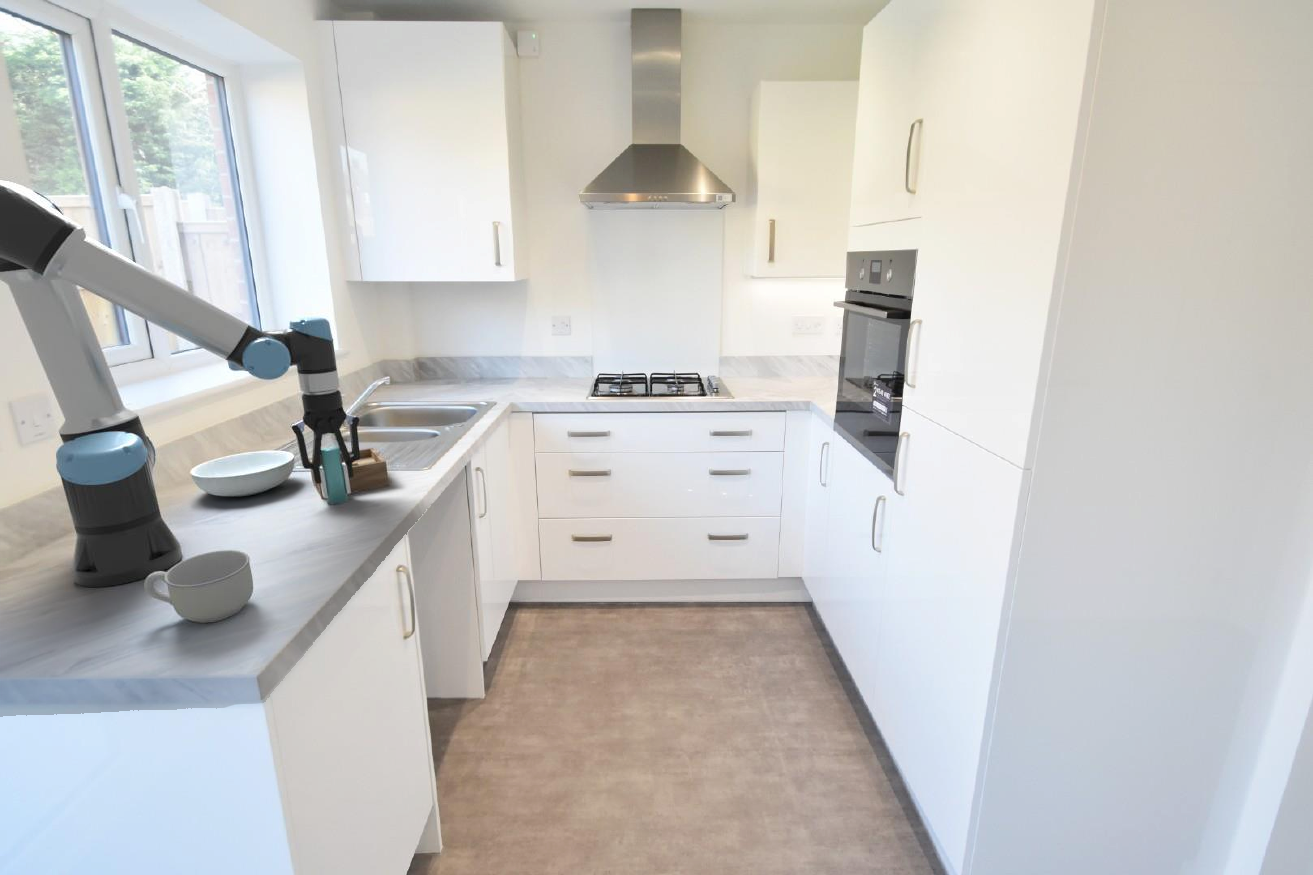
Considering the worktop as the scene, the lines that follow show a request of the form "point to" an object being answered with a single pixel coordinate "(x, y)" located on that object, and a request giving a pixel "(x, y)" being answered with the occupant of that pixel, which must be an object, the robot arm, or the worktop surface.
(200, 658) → the worktop surface
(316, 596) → the worktop surface
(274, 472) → the serving bowl
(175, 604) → the teacup
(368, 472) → the bore box
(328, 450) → the peg
